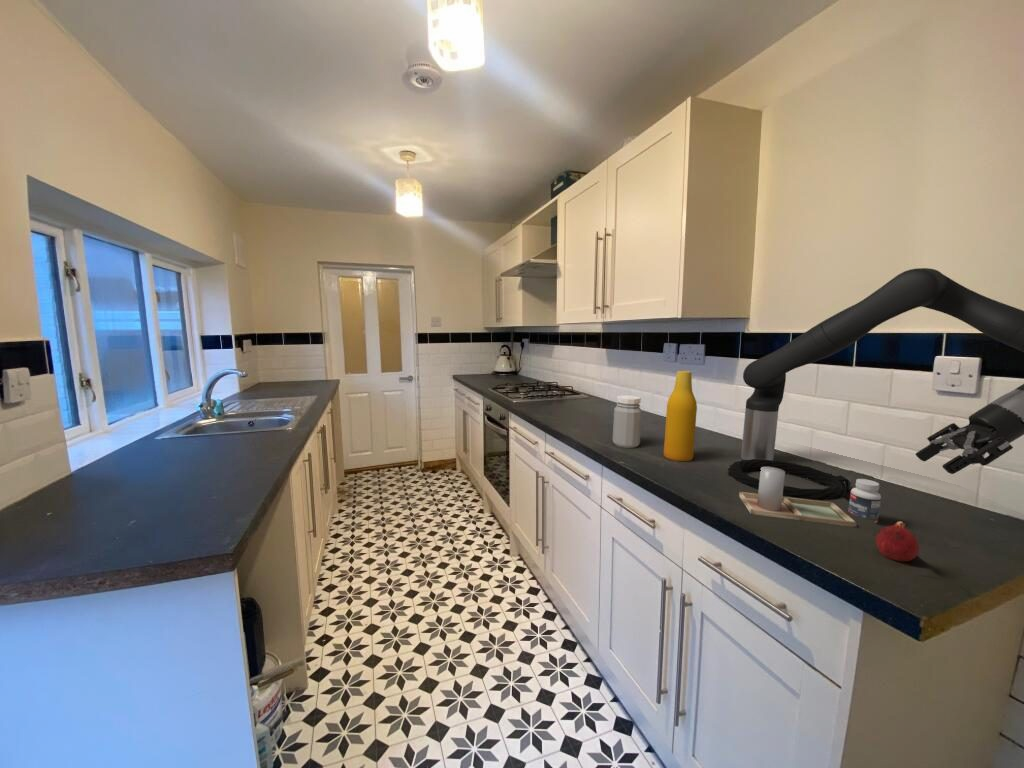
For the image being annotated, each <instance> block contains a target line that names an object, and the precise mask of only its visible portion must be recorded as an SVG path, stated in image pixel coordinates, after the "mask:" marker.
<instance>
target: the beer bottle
mask: <svg viewBox="0 0 1024 768" xmlns="http://www.w3.org/2000/svg"><path fill="white" fill-rule="evenodd" d="M675 377H676V378H675V381H674V387H673V391H672V392H671V394H670V395H669V397H668V400H667V403H666V417H665V428H664V430H665V432H664V445H663V456H664V457H665V459H668V460H671V461H675V462H683V463H684V462H690V461H692V460H693V458H694V453H695V452H694V449H695V436H696V435H695V434H696V424H697V423H696V422H697V411H698V404H697V400H696V397H695V395H694V392H693V383H692V382H693V381H692V379H693V378H692V371H690V370H686V371H685V370H678V371H676V376H675Z"/></svg>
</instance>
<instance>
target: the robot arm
mask: <svg viewBox="0 0 1024 768" xmlns="http://www.w3.org/2000/svg"><path fill="white" fill-rule="evenodd" d="M917 308H926V309H929V310H932V311H936V312H940V313H943V314H946V315H948V316H951V317H953V318H955V319H957V320H959V321H961V322H964V323H965V324H967V325H969V326H970V327H972V328H974V329H975V330H977V331H979V332H981V333H982V334H984V335H986V336H988V337H989V338H991V339H993V340H995V341H997V342H1000V343H1002V344H1004V345H1006V346H1008V347H1011V348H1013V349H1016V350H1018V351H1020V352H1022V353H1024V310H1023V309H1021V308H1017V307H1014V306H1011V305H1008V304H1006V303H1003V302H1001V301H998V300H995V299H992V298H990V297H987V296H984V295H982V294H980V293H978V292H976V291H974V290H972V289H970V288H968V287H966V286H963V285H962V284H960V283H958V282H956V281H955V280H954V279H952V278H950V277H948V276H947V275H945V274H943V273H942V272H940V271H939V270H937V269H934V268H928V267H927V268H925V267H923V268H921V267H918V268H917V267H916V268H912V269H911V268H910V269H908V270H905V271H903V272H900V273H899V274H897V275H896V276H894V277H893V278H891V279H890V280H889V281H888V282H886V283H885V284H884V285H882V286H881V287H879V288H878V289H877V290H875V291H874V292H872V293H871V294H870V295H868V296H867V297H865V298H864V299H862V300H860V301H858V302H856V303H855V304H853V305H851V306H849V307H847V308H845V309H843V310H842V311H838V312H837V313H835V314H834V315H832V316H830V317H828V318H826V319H825V320H823V321H821V322H819V323H817V324H815V325H814V326H813V327H811V328H810V329H808V330H806V331H804V332H803V333H802V334H800V335H798V336H796V338H794V339H791V341H789V342H787V343H786V344H785V345H783V346H781V347H780V348H778V349H777V350H775V351H772V352H771V353H768V354H766V355H764V356H762V357H760V358H758V359H756V360H753V361H751V362H750V363H749V364H748V365H746V367H744V370H743V373H742V374H743V375H742V378H743V382H744V383H745V384H746V385H747V386H748V387H750V388H752V389H754V390H753V393H752V394H751V396H749V397H748V398H747V399H746V401H745V410H744V423H743V432H742V442H741V443H742V444H741V453H740V458H741V460H751V459H759V460H774V458H775V456H774V455H775V449H776V448H775V447H776V438H777V428H778V418H779V411H780V405H781V403H782V402H783V399H784V393H785V386H786V380H787V379H786V378H787V373H789V372H790V371H793V370H795V369H797V368H800V367H803V366H806V365H810V364H813V363H815V362H818V361H821V360H823V359H827V358H829V357H832V356H833V355H835V354H837V353H839V352H841V351H842V350H844V349H847V348H848V347H849V346H851V345H853V344H854V343H857V341H859V340H861V339H862V338H863V337H864V336H866V335H867V334H869V333H870V332H871V331H872V330H873V329H875V328H876V327H877V326H880V325H881V324H883V323H885V322H886V321H890V320H892V319H893V318H896V317H898V316H899V315H901V314H904V313H906V312H909V311H912V310H914V309H917ZM968 423H969V424H966V425H965V426H962V427H961V426H958V425H957V424H956V423H954V422H953V423H949V425H947V426H945V427H943V428H941V429H939V430H938V431H937V432H935V433H933V434H931V435H930V436H928V437H927V438H926V440H928V442H929V445H927V446H925V447H924V448H922V449H920V450H919V451H917V452H916V453H915V456H916V457H917V458H918V459H919V460H920V461H922V462H927V461H928V460H931V459H932V458H933V457H935V456H937V455H938V454H939V453H941V452H944V451H948V450H951V451H955V450H963V451H962V453H961V454H958V455H957V456H955V457H953V458H951V459H950V460H949V461H947V462H945V463H943V464H942V468H943V469H944V470H945V471H946V472H947V473H949V474H951V475H954V474H956V473H957V472H960V471H961V470H963V469H966V467H968V466H970V465H973V466H974V465H977V464H980V465H981V466H987V465H988V464H990V463H992V462H994V461H995V460H997V459H998V458H1000V457H1001V456H1003V455H1005V454H1006V453H1008V452H1009V451H1010V450H1012V449H1013V448H1014V447H1013V446H1012V444H1011V443H1013V442H1014V441H1016V440H1017V439H1019V438H1020V437H1023V436H1024V383H1023V384H1021V385H1020V386H1018V387H1016V388H1014V390H1011V391H1009V392H1007V393H1005V394H1003V395H1001V396H999V397H997V398H996V399H994V400H993V401H991V402H990V403H988V404H986V405H985V406H984V407H982V408H980V409H978V410H976V412H974V413H972V414H971V415H969V416H968ZM986 454H988V455H987V456H986V457H985V455H986Z"/></svg>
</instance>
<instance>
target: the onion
mask: <svg viewBox="0 0 1024 768" xmlns="http://www.w3.org/2000/svg"><path fill="white" fill-rule="evenodd" d="M905 526H906V524H905V522H903V521H897V522H895V524H893V525H888V526H885V527H883V528H882V529H881V530H879V531H878V533H877V534H876V537H875V545H876V546H877V548H878V551H879V552H880V553H881V555H883V556H884V557H886V558H888V559H891V560H893V561H897V562H900V563H902V562H903V563H905V562H910V561H912V560H914V559H915V558H916V557H917V556H918V554H919V553H920V544H919V541H918V539H917V538H916V537H915V535H914V534H913V533H912V532H911V531H910V530H909V529H907V528H906V527H905Z"/></svg>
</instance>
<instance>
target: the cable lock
mask: <svg viewBox="0 0 1024 768" xmlns="http://www.w3.org/2000/svg"><path fill="white" fill-rule="evenodd" d="M761 467H774V468H778V469H781V470H784V471H785V474H787V473H789V474H788V475H791V474H793V475H792V476H794V475H796V476H795V477H799V476H800V478H803V477H805V478H804V479H806V478H808V479H807V480H809V479H810V480H809V481H812V482H816V483H818V482H819V484H820V485H822V486H823V485H824V487H826V488H800V487H793V486H786V485H784V487H783V496H782V497H790V498H799V499H808V500H816V501H830V500H833V499H840V498H845V496H846V494H847V492H851V490H852V489H853V483H852V482H853V481H852V479H851V478H850V477H849V476H846V477H844V476H843V475H835V474H833V473H828V472H825V471H822V470H819V469H816V468H813V467H810V466H807V465H802V464H797V463H793V462H786V461H781V460H774V459H773V460H759V459H751V460H743V459H741V460H739V461H734V462H733V463H732V464H729V468H728V469H727V471H728V472H727V475H728V477H732V478H733V479H734V480H735V481H736V482H739V483H740V484H744V485H746V486H748V487H750V488H753V489H755V490H759V481H760V478H757V477H753V476H750V475H747V474H746V472H752V471H753V472H754V471H757V470H761ZM848 490H849V491H848ZM846 491H847V492H846Z"/></svg>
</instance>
